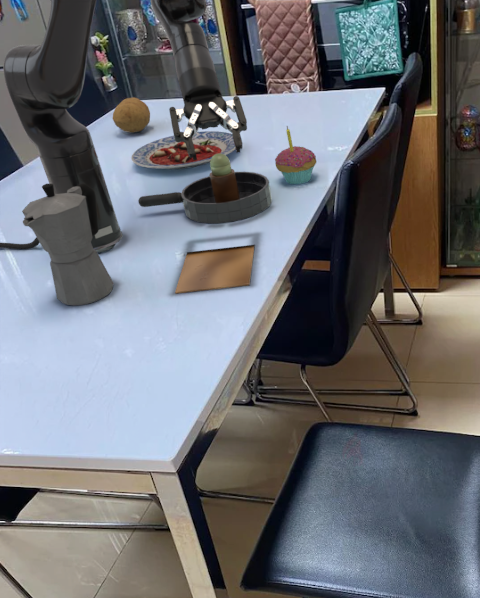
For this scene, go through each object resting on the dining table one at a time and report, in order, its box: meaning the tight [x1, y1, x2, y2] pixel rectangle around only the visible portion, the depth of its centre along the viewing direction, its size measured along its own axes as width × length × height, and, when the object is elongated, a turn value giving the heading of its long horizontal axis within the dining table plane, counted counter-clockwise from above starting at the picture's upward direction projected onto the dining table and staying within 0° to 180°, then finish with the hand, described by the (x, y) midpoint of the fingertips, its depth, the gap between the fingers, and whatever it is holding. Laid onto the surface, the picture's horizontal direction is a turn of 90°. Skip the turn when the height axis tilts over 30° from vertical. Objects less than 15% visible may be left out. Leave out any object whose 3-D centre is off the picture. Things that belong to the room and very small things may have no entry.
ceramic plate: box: [130, 130, 236, 170], centre depth 168 cm, size 26×26×3 cm
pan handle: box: [138, 191, 183, 208], centre depth 138 cm, size 9×2×2 cm, turn 93°
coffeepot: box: [21, 183, 115, 306], centre depth 112 cm, size 15×9×18 cm, turn 159°
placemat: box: [174, 244, 256, 294], centre depth 121 cm, size 12×20×1 cm, turn 3°
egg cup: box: [209, 153, 240, 203], centre depth 136 cm, size 5×5×10 cm
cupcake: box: [274, 125, 317, 185], centre depth 144 cm, size 9×8×12 cm
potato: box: [112, 97, 151, 134], centre depth 189 cm, size 10×14×8 cm
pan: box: [181, 171, 273, 224], centre depth 138 cm, size 17×17×4 cm
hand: (216, 154), depth 137 cm, fingers open, 8 cm apart
